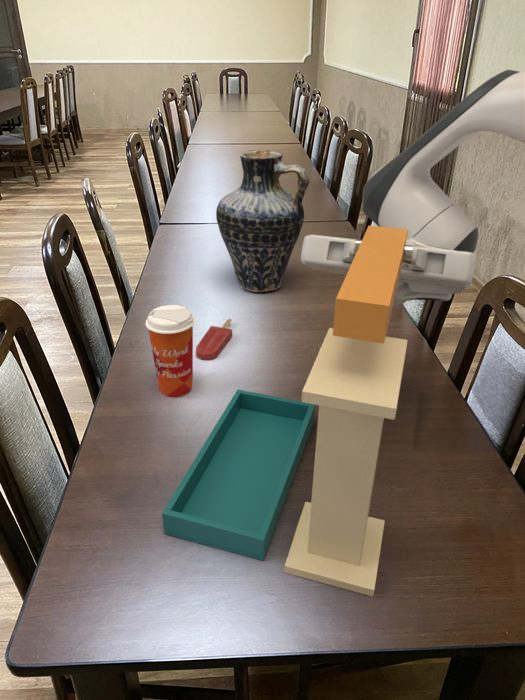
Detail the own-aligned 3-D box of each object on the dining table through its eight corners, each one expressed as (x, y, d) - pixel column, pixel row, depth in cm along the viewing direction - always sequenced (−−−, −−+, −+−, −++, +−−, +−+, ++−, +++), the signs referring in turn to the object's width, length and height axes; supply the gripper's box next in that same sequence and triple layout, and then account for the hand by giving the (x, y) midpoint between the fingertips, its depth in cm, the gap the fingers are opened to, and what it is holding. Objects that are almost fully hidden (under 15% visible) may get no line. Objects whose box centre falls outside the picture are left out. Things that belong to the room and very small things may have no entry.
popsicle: (240, 317, 110) (214, 354, 98) (240, 324, 111) (214, 362, 99) (219, 314, 111) (191, 351, 99) (219, 321, 112) (191, 358, 100)
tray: (237, 407, 87) (237, 389, 85) (313, 422, 84) (315, 404, 82) (164, 534, 65) (161, 513, 63) (263, 561, 62) (263, 540, 60)
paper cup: (146, 398, 89) (137, 323, 81) (160, 373, 95) (153, 301, 88) (193, 403, 88) (188, 327, 80) (203, 377, 94) (200, 305, 87)
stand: (306, 502, 70) (319, 326, 56) (384, 520, 67) (417, 341, 54) (281, 579, 60) (290, 388, 46) (372, 605, 57) (409, 411, 44)
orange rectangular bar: (365, 255, 63) (368, 225, 61) (403, 259, 62) (408, 229, 60) (332, 335, 46) (335, 298, 45) (383, 343, 45) (389, 305, 43)
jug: (206, 294, 123) (199, 158, 108) (234, 264, 139) (232, 142, 124) (293, 307, 118) (300, 166, 102) (312, 274, 134) (320, 148, 118)
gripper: (314, 236, 74) (294, 211, 60) (470, 254, 69) (487, 231, 55) (306, 282, 74) (285, 267, 61) (461, 303, 69) (476, 291, 56)
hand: (383, 250), depth 58 cm, fingers closed on orange rectangular bar, 4 cm apart
